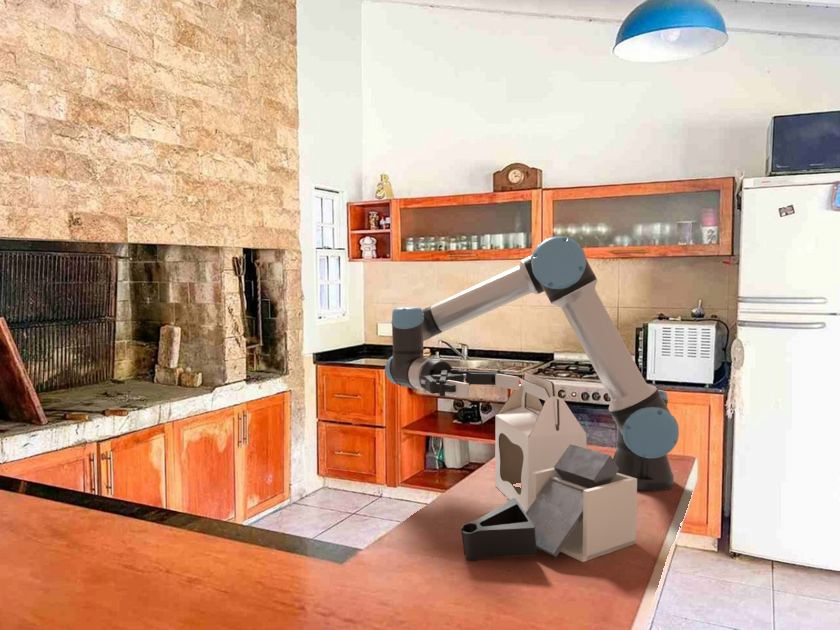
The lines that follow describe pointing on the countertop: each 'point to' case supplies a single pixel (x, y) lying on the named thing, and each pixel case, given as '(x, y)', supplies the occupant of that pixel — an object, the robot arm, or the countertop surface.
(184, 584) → the countertop surface
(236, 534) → the countertop surface
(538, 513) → the trapdoor
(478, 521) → the phone stand
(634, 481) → the frame
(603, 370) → the robot arm
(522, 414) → the gable box
